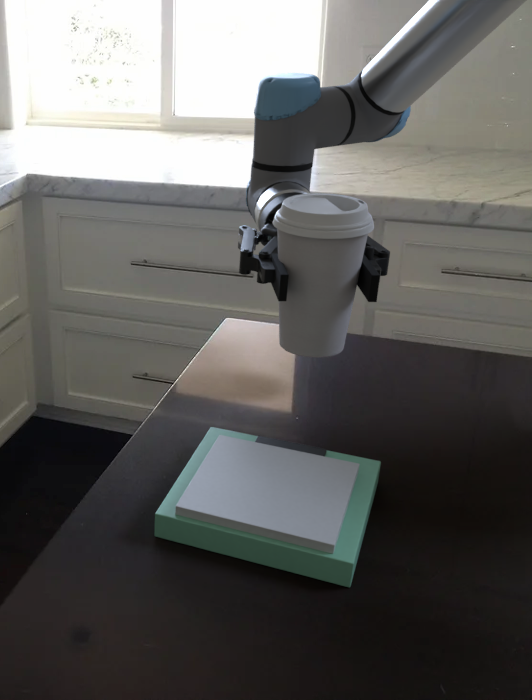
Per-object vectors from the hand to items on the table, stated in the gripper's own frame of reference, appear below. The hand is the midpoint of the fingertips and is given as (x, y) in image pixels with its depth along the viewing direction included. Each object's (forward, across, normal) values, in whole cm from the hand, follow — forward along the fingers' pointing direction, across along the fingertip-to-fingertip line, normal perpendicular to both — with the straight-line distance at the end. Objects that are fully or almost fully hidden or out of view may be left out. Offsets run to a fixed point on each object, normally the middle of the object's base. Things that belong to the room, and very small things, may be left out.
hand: (328, 288), depth 82 cm
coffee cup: (-5, 0, -8) cm, 10 cm away
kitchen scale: (+18, +7, -13) cm, 23 cm away
